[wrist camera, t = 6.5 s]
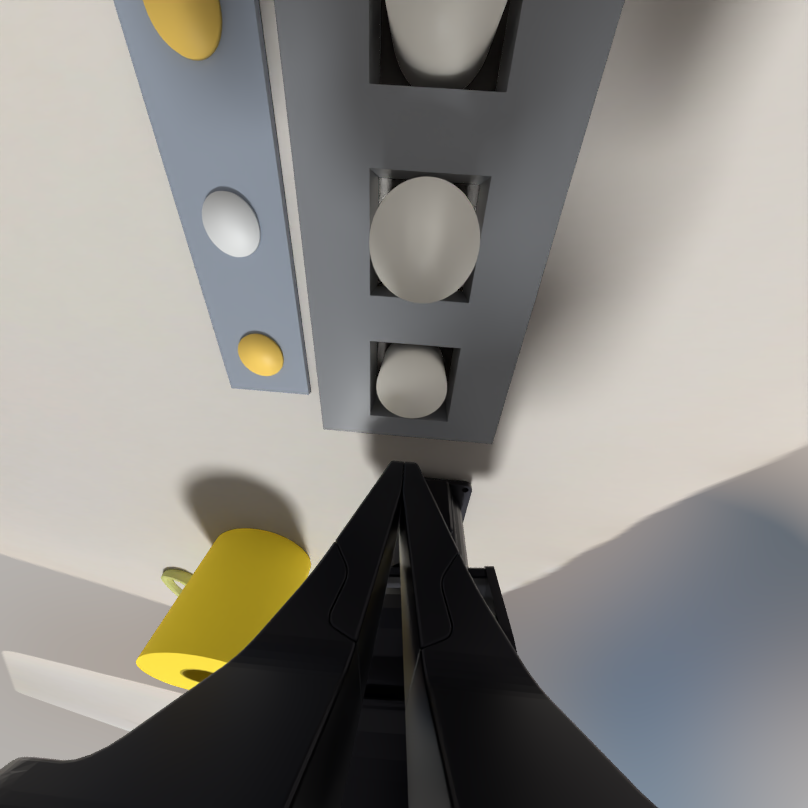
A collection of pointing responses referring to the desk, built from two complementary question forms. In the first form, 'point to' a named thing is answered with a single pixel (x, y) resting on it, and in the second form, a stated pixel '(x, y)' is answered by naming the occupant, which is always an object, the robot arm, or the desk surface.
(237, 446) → the desk surface
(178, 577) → the key
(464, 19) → the button
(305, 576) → the yellow cylinder with hole
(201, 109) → the pattern card
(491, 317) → the button panel
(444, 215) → the button middle
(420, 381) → the button
